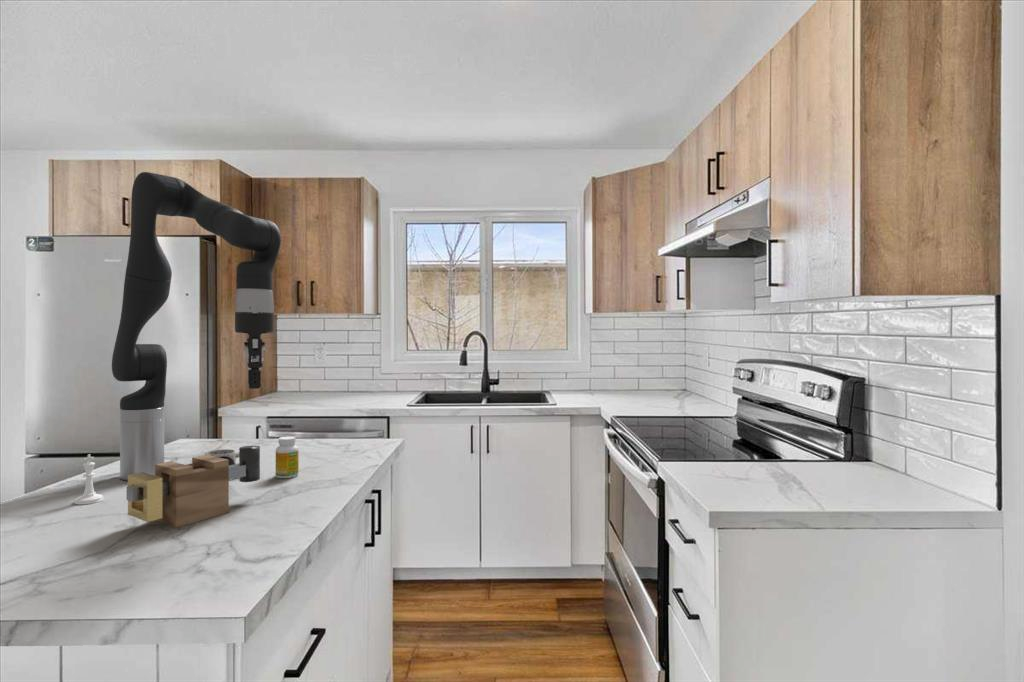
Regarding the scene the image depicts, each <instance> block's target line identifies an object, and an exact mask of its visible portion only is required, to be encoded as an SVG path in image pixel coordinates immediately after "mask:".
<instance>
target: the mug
mask: <svg viewBox="0 0 1024 682" xmlns="http://www.w3.org/2000/svg"><path fill="white" fill-rule="evenodd" d="M204 455H210V456H215V457H219V458H223V459H228V460H229V465H234V464H236V459H237V458H239V452H236V450H235V449H229V448H228V449H227V448H226V449H225V448H224V449H223V448H222V449H216V450H215V449H213V450H210V451H206V452H205V453H204ZM232 480H233V479H231V480H230V481H232Z"/></svg>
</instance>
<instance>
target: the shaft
mask: <svg viewBox="0 0 1024 682" xmlns="http://www.w3.org/2000/svg"><path fill="white" fill-rule="evenodd" d="M238 450H239V452H238V453H239V457H238V458H239V459H238V460H239V463H235V464H234V465H229V481H232V480H235V479H238V481H239V482H241V483H252V482H257V481H259V480H260V479H261V466H260V465H261V463H260V462H261V456H260V455H261V446H260V445H245V446H241V447H239V448H238ZM231 479H232V480H231ZM166 494H169V478H166V479H162V495H166ZM128 500H129V501H131V502H135V501H140V500H143V488H142V487H139V486H136V485H132V486H128V485H126V501H128Z"/></svg>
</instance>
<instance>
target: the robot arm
mask: <svg viewBox="0 0 1024 682" xmlns="http://www.w3.org/2000/svg"><path fill="white" fill-rule="evenodd" d="M130 202H131V205H130V207H131V209H130V211H131V212H130V237H129V247H128V254H127V255H128V256H127V262H126V267H125V268H126V269H125V273H124V283H123V294H122V301H121V302H122V304H121V312H120V320H119V323H118V329H117V333H116V339H115V342H114V343H115V344H114V347H113V351H112V357H111V373H112V376H113V378H114V379H115V380H116V381H118V382H139V381H140V382H141V381H145V383H144V385H142V387H141V388H140V389H138V390H136V391H135V392H131V393H129V394H127V395H124V396H122V397H120V401H119V459H120V460H119V478H120V479H121V480H122V481H123V480H124V481H128V475H130V474H135V473H141V472H144V473H148V474H151V475H154V476H155V464H159V463H165V399H166V393H167V391H166V389H167V388H166V385H167V384H166V383H167V380H166V379H167V371H168V370H167V368H168V357H167V352H166V350H165V348H164V347H163V345H161V344H158V343H138V342H137V341H138V339H139V335H140V334H141V331H142V330H143V328H144V327H145V326H146V324H147V323H148V322H149V321H150V319H152V318H153V317H154V316H155V314H157V312H158V311H160V309H161V308H162V307H163V306H164V304H166V302H167V301H168V299H169V295H170V291H171V282H172V276H173V274H172V273H173V271H172V268H171V267H172V266H171V264H170V262H169V260H168V257H167V256H166V253H164V250H163V249H162V246H161V244H160V242H159V240H158V237H157V236H158V235H157V226H156V225H157V216H158V215H159V216H160V215H161V216H166V217H167V216H168V217H182V218H189V219H192V220H195V222H196V223H197V224H198V225H199V226H200V227H201V228H202V229H204V230H205V231H208V232H209V233H211V234H214V235H216V236H218V237H220V238H222V239H223V240H224V241H226V243H228V244H229V245H231V246H233V247H235V248H238V249H241V250H247V251H248V250H249V251H254V252H253V256H252V258H251V260H246V261H241V262H239V263H238V264H237V266H236V281H235V282H236V283H235V284H236V285H235V288H236V291H235V299H234V332H235V333H237V334H247V335H248V337H247V339H246V341H244V342H243V343H244V344H243V349H244V352H245V353H244V354H245V362H246V367H247V373H248V376H247V380H248V381H247V382H248V388H249V389H250V390H254V389H255V390H256V389H258V390H259V389H260V388H261V386H262V385H261V382H262V381H261V379H262V378H261V377H262V376H261V374H262V373H261V372H262V369H263V362H264V357H265V355H264V354H265V352H264V351H265V349H266V348H265V347H266V345H265V341H263V340H262V338H261V335H262V334H272V333H274V329H275V327H274V325H275V324H274V316H275V315H274V313H275V312H274V310H275V308H274V306H275V305H274V303H275V302H274V294H273V272H274V268H275V265H276V261H277V259H278V258H277V257H278V255H279V251H280V248H281V243H282V235H281V230H280V229H279V227H278V226H277V224H276V223H274V221H271V220H269V219H263V218H258V217H255V216H251V215H248V214H244V213H243V212H241V210H238V209H237V208H235V207H233V206H230V205H228V204H225V203H222V202H220V201H217V200H215V199H214V198H210V197H208V196H207V195H204V194H203V193H202V192H200V191H198V190H197V189H196V188H194V187H193V186H192V185H190V184H189V183H187V182H186V181H184V180H182V179H181V178H178V177H174V176H169V175H163V174H159V173H155V172H151V171H150V172H148V171H143V172H139V174H137V176H136V177H135V179H134V181H133V185H132V190H131V201H130Z"/></svg>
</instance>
